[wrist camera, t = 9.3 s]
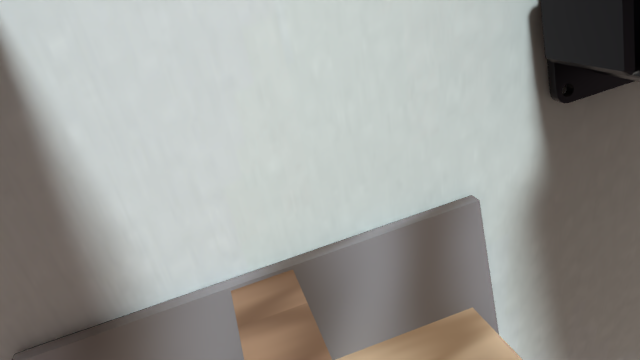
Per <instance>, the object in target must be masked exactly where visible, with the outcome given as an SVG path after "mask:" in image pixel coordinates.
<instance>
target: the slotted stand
mask: <svg viewBox="0 0 640 360" xmlns="http://www.w3.org/2000/svg"><path fill="white" fill-rule="evenodd" d="M292 269H293V271H294V273H295V275H296V278H297V280H298V282H299V285H300V287H301V289H302V292H303V294H304V296H305V298H306V301H307V303H308V305H309V308H310V310H311V312H312V314H313V317H314V319H315V321H316V324H317V326H318V328H319V331H320V333H321V335H322V337H323V340H324V342H325V344H326V347H327V349H328V351H329V353H330V356H331V358H332V360H522V359H521V358H520V357H519V355H518V354H517V353H516V352H515V351H514V350H513V349H512V348H511V347H510V346H509V345H508V344H507V343H506V342H505V341H504V340H503V339H502V338H501V337H500V336H499V332H498V325H497V318H496V311H495V304H494V298H493V291H492V284H491V277H490V270H489V263H488V256H487V250H486V243H485V236H484V229H483V222H482V215H481V208H480V202H479V200H478V199H477V198H475V197H474V196H472V195H471V196H468V197H465V198H462V199H459V200H456V201H454V202H451V203H448V204H445V205H442V206H439V207H436V208H433V209H431V210H428V211H425V212H422V213H419V214H416V215H413V216H410V217H408V218H405V219H402V220H399V221H396V222H393V223H390V224H387V225H385V226H382V227H379V228H376V229H373V230H370V231H367V232H364V233H362V234H359V235H356V236H353V237H350V238H347V239H344V240H341V241H338V242H336V243H333V244H330V245H327V246H324V247H321V248H318V249H315V250H313V251H310V252H307V253H304V254H301V255H298V256H295V257H292V258H290V259H287V260H284V261H281V262H278V263H275V264H272V265H269V266H267V267H264V268H261V269H258V270H255V271H252V272H249V273H246V274H244V275H241V276H238V277H235V278H232V279H229V280H226V281H223V282H221V283H218V284H215V285H212V286H209V287H206V288H203V289H200V290H198V291H195V292H192V293H189V294H186V295H183V296H180V297H177V298H175V299H172V300H169V301H166V302H163V303H160V304H157V305H154V306H152V307H149V308H146V309H143V310H140V311H137V312H134V313H131V314H129V315H126V316H123V317H120V318H117V319H114V320H111V321H108V322H106V323H103V324H100V325H97V326H94V327H91V328H88V329H85V330H83V331H80V332H77V333H74V334H71V335H68V336H65V337H62V338H60V339H57V340H54V341H51V342H48V343H45V344H42V345H39V346H37V347H34V348H31V349H28V350H25V351H22V352H19V353H16V354H15V355H14V357H13V359H12V360H244V356H243V351H242V346H241V341H240V336H239V331H238V326H237V320H236V315H235V310H234V305H233V300H232V295H231V291H232V290H235V289H238V288H241V287H244V286H246V285H249V284H252V283H255V282H258V281H261V280H264V279H267V278H269V277H272V276H275V275H278V274H281V273H284V272H287V271H290V270H292Z"/></svg>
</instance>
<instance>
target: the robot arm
mask: <svg viewBox="0 0 640 360" xmlns="http://www.w3.org/2000/svg"><path fill="white" fill-rule="evenodd" d="M541 10H542V22H543V34H544V45H545V56H546V58H547V63H548V74H549V86H550V94H551V97H552V98H553V99H554V100H556V101H559V102H562V103H569V102H573V101H576V100H579V99H582V98H585V97H588V96H591V95H594V94H597V93H600V92H603V91H606V90H609V89H612V88H615V87H618V86H621V85H624V84H627V83H630V82H633V81H640V0H541ZM565 85H567V90H566V92H565V93H564V94H563V93H562V90H563V87H564V86H565Z"/></svg>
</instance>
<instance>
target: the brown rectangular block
mask: <svg viewBox="0 0 640 360" xmlns="http://www.w3.org/2000/svg"><path fill="white" fill-rule="evenodd" d="M231 295H232V300H233V305H234V310H235V315H236V320H237V326H238V331H239V336H240V341H241V346H242V351H243V356H244V360H332V358H331V356H330V353H329V351H328V349H327V347H326V344H325V342H324V340H323V337H322V335H321V333H320V331H319V328H318V326H317V324H316V321H315V319H314V317H313V314H312V312H311V310H310V308H309V305H308V303H307V301H306V298H305V296H304V294H303V292H302V289H301V287H300V285H299V282H298V280H297V278H296V275H295V273H294V271H293V269H292V270H290V271H287V272H284V273H281V274H278V275H275V276H272V277H269V278H267V279H264V280H261V281H258V282H255V283H252V284H249V285H246V286H244V287H241V288H238V289H235V290H232V291H231Z"/></svg>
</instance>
